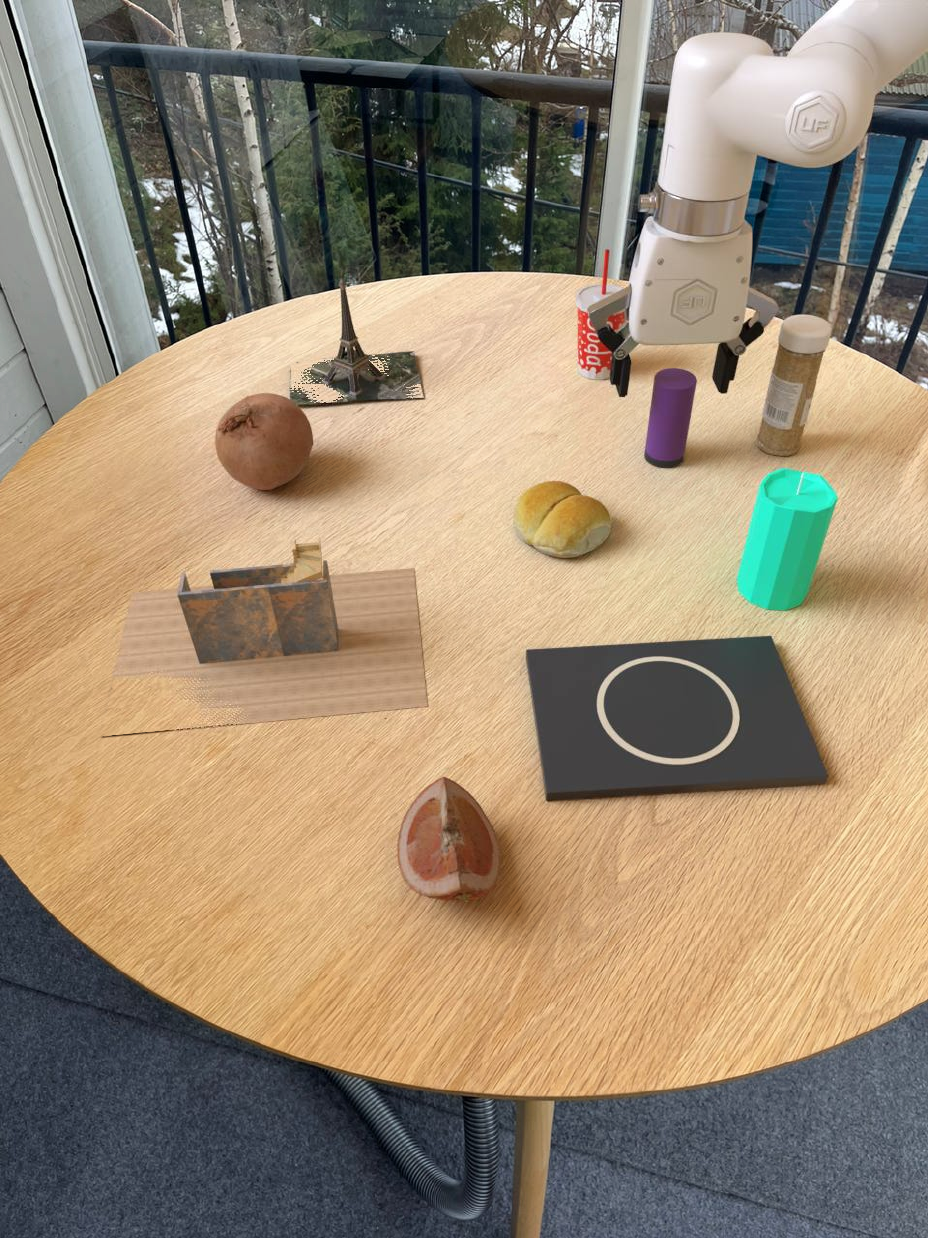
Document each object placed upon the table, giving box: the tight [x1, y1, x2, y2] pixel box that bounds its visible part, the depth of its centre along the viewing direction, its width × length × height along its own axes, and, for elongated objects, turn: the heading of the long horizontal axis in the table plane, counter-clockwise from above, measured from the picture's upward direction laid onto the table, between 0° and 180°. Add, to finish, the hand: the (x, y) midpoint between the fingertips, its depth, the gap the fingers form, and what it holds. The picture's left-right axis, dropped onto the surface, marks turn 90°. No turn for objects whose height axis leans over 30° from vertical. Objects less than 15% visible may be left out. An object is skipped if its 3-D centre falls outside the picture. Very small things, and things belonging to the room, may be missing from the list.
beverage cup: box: [574, 248, 626, 381], centre depth 104 cm, size 6×6×14 cm
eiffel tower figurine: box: [289, 272, 423, 405], centre depth 104 cm, size 15×10×13 cm
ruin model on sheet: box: [112, 536, 428, 731], centre depth 75 cm, size 25×16×10 cm, turn 96°
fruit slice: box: [396, 776, 502, 903], centre depth 61 cm, size 8×7×5 cm
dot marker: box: [643, 367, 698, 469], centre depth 93 cm, size 4×4×9 cm
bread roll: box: [513, 480, 611, 559], centre depth 87 cm, size 8×9×4 cm
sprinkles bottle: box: [755, 314, 832, 457], centre depth 92 cm, size 5×5×14 cm
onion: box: [214, 392, 314, 491], centre depth 92 cm, size 10×9×10 cm
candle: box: [736, 467, 839, 611], centre depth 77 cm, size 6×6×12 cm
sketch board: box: [525, 635, 830, 802], centre depth 71 cm, size 20×14×1 cm
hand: (669, 387), depth 91 cm, fingers open, 9 cm apart
